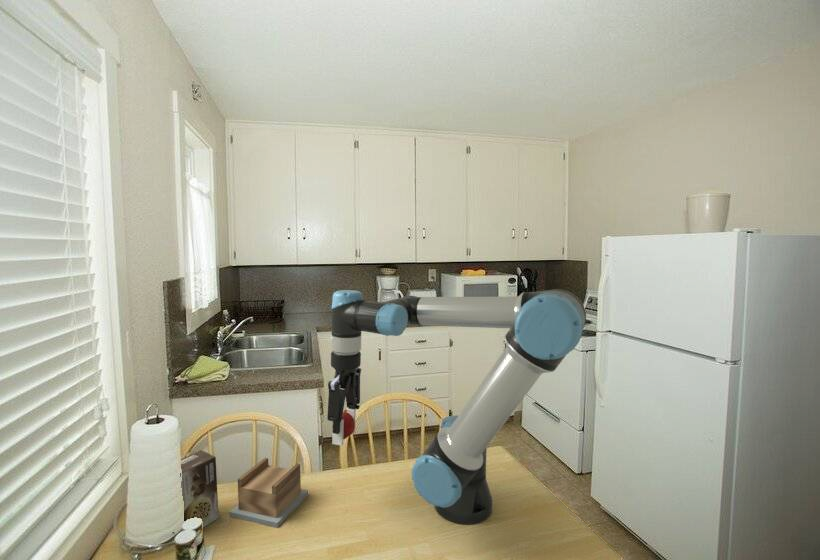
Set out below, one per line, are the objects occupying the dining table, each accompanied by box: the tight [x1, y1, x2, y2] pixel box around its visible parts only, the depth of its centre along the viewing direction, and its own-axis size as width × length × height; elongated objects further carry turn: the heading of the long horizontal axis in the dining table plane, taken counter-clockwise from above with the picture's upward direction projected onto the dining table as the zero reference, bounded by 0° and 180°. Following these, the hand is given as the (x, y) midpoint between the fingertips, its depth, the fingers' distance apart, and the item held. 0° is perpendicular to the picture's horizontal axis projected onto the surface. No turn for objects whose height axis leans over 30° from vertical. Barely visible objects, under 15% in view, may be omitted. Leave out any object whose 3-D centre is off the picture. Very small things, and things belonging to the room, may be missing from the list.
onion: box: [331, 408, 356, 440], centre depth 106 cm, size 6×6×8 cm
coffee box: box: [180, 449, 219, 528], centre depth 99 cm, size 9×6×16 cm
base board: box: [228, 488, 309, 529], centre depth 107 cm, size 14×14×1 cm
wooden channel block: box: [237, 457, 302, 518], centre depth 107 cm, size 11×11×8 cm
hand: (343, 438), depth 107 cm, fingers closed on onion, 6 cm apart
